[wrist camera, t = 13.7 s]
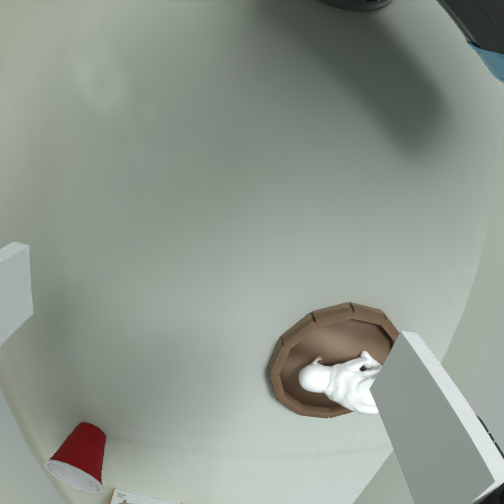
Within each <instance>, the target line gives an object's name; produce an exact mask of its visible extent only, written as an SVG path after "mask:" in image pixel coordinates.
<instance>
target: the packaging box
mask: <svg viewBox="0 0 504 504" xmlns="http://www.w3.org/2000/svg"><path fill="white" fill-rule="evenodd" d="M110 504H181V503H179V502H173V501H167V500H162V499H157V498H152V497H148V496H143V495H139V494H135V493H131V492H127V491H123V490H119V489H115V488H114V491H113V495H112V498H111V501H110Z"/></svg>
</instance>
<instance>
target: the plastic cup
mask: <svg viewBox="0 0 504 504" xmlns="http://www.w3.org/2000/svg"><path fill="white" fill-rule="evenodd" d="M105 438H106V437H105V434H104V433H103V432H102V431H101V430H100V429H99V428H97V427H96V426H94V425H92V424H89V423H80V424H79V425H78V426H77V427H76V428H75V429H74V431H73V432H72V433H71V434H70V435H69V436H68V437H67V439H66V440H65V441H64V443H63V444H62V445H61V447H60V448H59V449H58V450H57V452H56V453H55V454H54V455H53V456H52V457H51V459H50V460H48V461H46V462H45V463H44V465H45V468H46V469H47V470H48V471H49V472H50V474H52V475H53V476H54V477H56V478H57V479H58V480H60V481H62V482H63V483H65V484H67V485H69V486H71V487H73V488H76V489H78V490H81V491H85V492H88V493H96V494H99V493H102V492H103V486H102V482H101V480H102V479H101V475H102V474H101V471H102V463H103V456H104V447H105V441H106V439H105Z"/></svg>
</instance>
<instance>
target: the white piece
mask: <svg viewBox="0 0 504 504" xmlns="http://www.w3.org/2000/svg"><path fill="white" fill-rule="evenodd" d="M318 358H319V357H318ZM318 358H316V359H315V360H314V361H313V362H312V363H310V364H308V365H307V366H306V367H304V368H303V369H302V370H301V371H300V373H299V382H300V385H301V386H302V387H303V388H304V389H305V390H307V391H311V392H317V393H322V392H324V393H325V394H326V395H327V396H328V398H329V399H330V400H332V401H335V402H338V403H339V404H340V405H342V406H343V407H345V408H348V409H350V410H352V411H355V412H357V413H359V414H367V415H376V414H379V411H378V409H377V407H376V404H375V402H374V399H373V397H372V395H371V392H370V390H369V389H370V387H371V385H372V383H373V382H374V380H375V378H376V377H377V375H378V373H379V371H380V370H381V368H382V366H383V365H380V363H378V362H377V361H376V360H374V359H373V358H372V357H371V356H370V355H369V353H368V352H366V351H362V352H361V356H360V357H359V358H356V359H353V360H350V361H347V362H345V363H342V364H335V365H333V366H323V365H320V364H319V363H316V361H318V360H321V359H322V358H320V359H318ZM317 359H318V360H317ZM362 366H364V367H365V368H366V369H367V370H366V371H363V372H361V371H360V370H359V369H360V368H361V367H362Z"/></svg>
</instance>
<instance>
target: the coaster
mask: <svg viewBox="0 0 504 504" xmlns="http://www.w3.org/2000/svg"><path fill="white" fill-rule="evenodd" d="M312 312H313V314H311V313H309V314H308V315H306V316H305V317H304V318H303V319H301V320H300V321H299V322H298V323H296V324H295V325H294V326H293V327H291V328H290V329H289V330H288V331H286V332H285V333H284V334H282V337H280V339H279V341H278V344H277V346H276V348H275V351H274V353H273V356H272V358H271V360H270V363H269V373H270V378H271V382H272V385H273V389H274V392H275V396H276V399H277V400H278V401H279V402H281V403H282V404H283V405H285V406H286V407H288V408H289V409H291V410H292V411H293V412H295V413H296V414H300V415H302V416H310V417H319V418H328V417H330V418H332V417H336V416H340V415H343V414H347V413H351V412H354V411H352V410H350V409H348V408H345V407H343V406H342V405H340V404H339V403H338V402H335V401H332V400H330V399H329V398H328V396H327V395H326V394H325V393H324V392H322V393H317V392H311V391H307V390H305V389H304V388H303V387H302V386H301V385H300V382H299V373H300V371H301V370H302V369H303V368H304V367H306V366H307V365H308V364H310V363H312V362H313V361H314V360H315V359H316V358H318V357H319V358H318V359H320V358H322V359H321V360H318V359H317V360H318V361H316V363H319V364H320V365H323V366H333V365H335V364H342V363H345V362H347V361H350V360H353V359H356V358H359V357H360V356H361V352H362V351H366V352H368V353H369V355H370V356H371V357H372V358H373V359H374V360H376V361H377V362H378V363H380V365H383V364H384V362H385V360H386V359H387V357H388V355H389V353H390V351H391V349H392V347H393V345H394V343H395V342H396V340H397V338H398V336H399V334H400V333H399V332H398V330H397V329H396V328H395V327H394V325H393V324H392V323H391V322H390V320H389V319H388V318H387V317H386V315H385V314H384V313H383V312H382V311H381V310H379V309H375V308H371V307H367V306H363V305H359V304H355V303H351V302H350V304H349V303H348V302H347V303H344V304H340V305H336V306H332V307H328V308H324V309H320V310H316V311H312ZM359 370H360V371H361V372H363V371H366V370H367V369H366V368H365V367H364V366H362V367H361V368H360V369H359Z"/></svg>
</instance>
